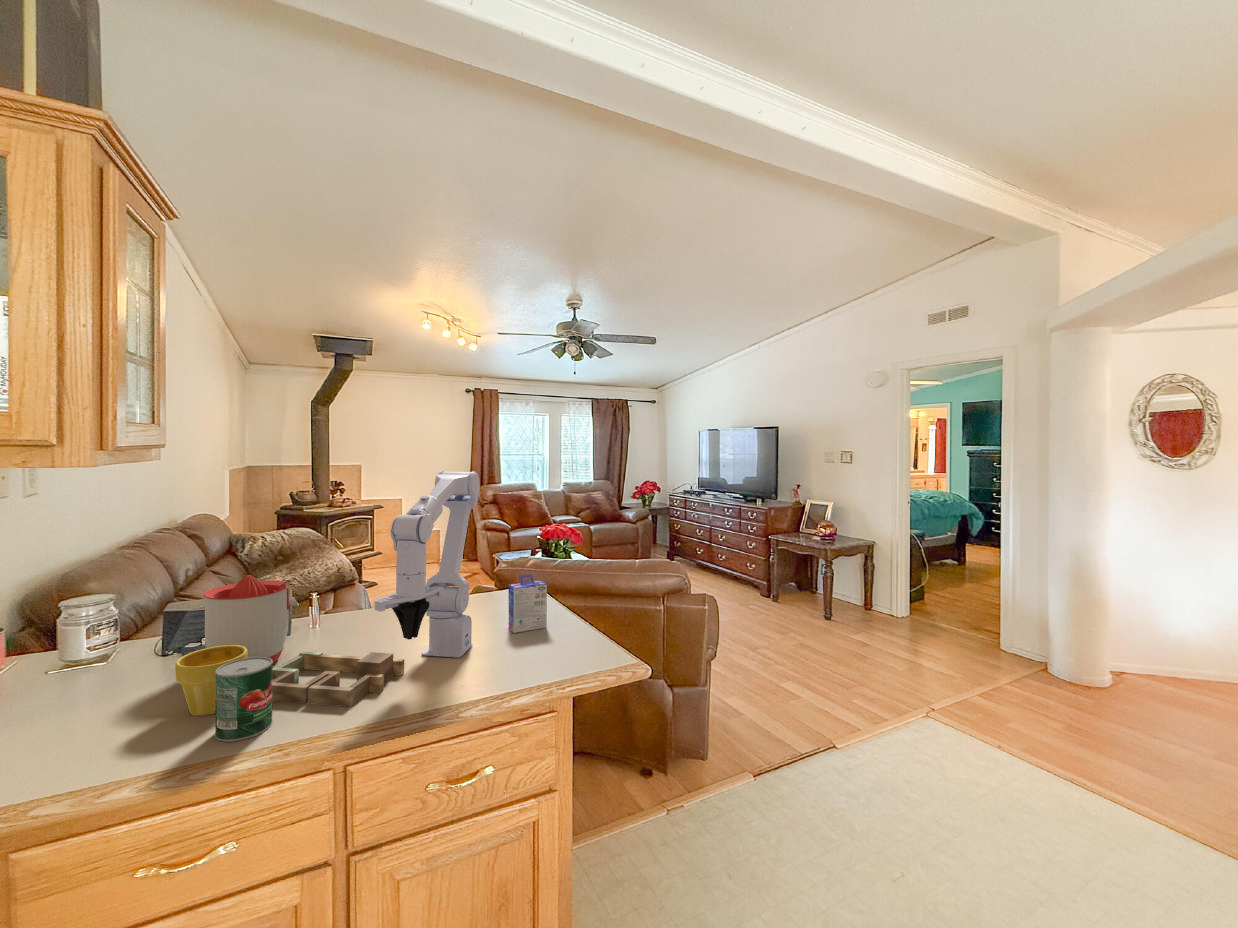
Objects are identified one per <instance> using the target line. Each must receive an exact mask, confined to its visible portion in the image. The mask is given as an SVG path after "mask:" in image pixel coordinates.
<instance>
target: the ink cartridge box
mask: <svg viewBox="0 0 1238 928" xmlns="http://www.w3.org/2000/svg"><path fill="white" fill-rule="evenodd" d="M519 578H520V580H519V581H520V582H519V583H511V584H508V590H507V591H508V629H509V630H510V631H511V632H512V633H513V634H515V633H522V632H526V631H527V632H528V631H532V630H539V629H545V628H547V627H548V626H547V625H548V621H547V620H548V618H547V616H548V615H547V614H548V613H547V611H548V609H547V608H548V605H547V604H548V602H547V601H548V584H547V583H546V582H544V581H542V580H534V577H533V573H528V574H520V575H519ZM525 578H530V579H525Z"/></svg>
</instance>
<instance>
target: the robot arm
mask: <svg viewBox="0 0 1238 928" xmlns="http://www.w3.org/2000/svg"><path fill="white" fill-rule="evenodd" d="M480 489H481V482H480V476H479V474H478V473H477V472H476V471H444V470H440V471H439V472H438V473H437V474H436V476H435V479H434V487H433V489H432V491H431V492H430V493H429V494H428V495H421V496H420V497H419V499H418V500H417V501H416V503H414V505H413V506H412V507H411V508H410V509H409V510H408V511H407V512H406V514H405V513H404V514H399V515H398V516H396V517H395V518H394V519H393V521H392V523H391V529H390V537H391V540H392V543H393V549H394V551H396V552H395V553H396V557H395V559H396V561H395V562H396V565H395V568H396V569H395V573H396V576H395V593H393V594H389V595H388V596H385V597H382V598H379V599H375V600H374V611H377V612H379V613H380V612H385V611H386V610H387V609H391V610H392V611H393V612H394V614H395V616H396V618H397V620H398V622H399V626H400V628H401V629H400V630H401V631H402V637H403V639H407V640H412V639H413V638H418V636H419V633H420V628H421V625H422V622H423V619H424V617H425V615H426V616H427V617H428V618H429V620H428V623H429V624H428V625H429V626H428V631H429V632H428V647H427V649H425V650H424V651H422V653H421V656H428V657H444V658H461V657H462V656H464V654H465V653H466V652H468V650H469V649H471V647H473V643H472V631H473V630H472V627H473V625H472V624H473V622H472V617H471V616H470V615H468V614H464V612H465V611H467V608H468V605H469V601H470V596H469V590H470V584H469V582H468V580H466V578H464V576H462V575H461V572H460V571H461V567H462V561H463V555H464V549H465V542H466V538H467V532H468V525H469V519H470V516H471V510H472V509H474V508H475V507H477V505H478V501H479V495H480ZM443 507H446V508H447V509H448V510H449V516H448V521H447V526H446V531H445V537H444V542H443V547H442V554H441V559H440V564H439V570H438V572H437V573H435V574H434V575H432V576H430V577H429V578H428V579H427V542H428V541H430V539H431V535H432V531H433V529H434V526H435V525H434V524H435V522H436V521H437V520H438V518H439V517H440V516H441V514H442V513H443V512H444V511H443V510H444V509H443ZM426 580H427V581H426Z"/></svg>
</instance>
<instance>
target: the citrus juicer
mask: <svg viewBox="0 0 1238 928" xmlns="http://www.w3.org/2000/svg"><path fill="white" fill-rule="evenodd" d="M286 583H287V582H286V581H283V580H275V579H274V580H273V579H272V580H271V579H269V580H268V579H267V580H266V579H265V580H259V579H258V578H256V577H254V576H253V575H251V574H247V575H246V576H244V577H243V578H242V579H241V580H240V581H238V582H236V583H229V584H226V585H225V584H224V585H220V586H216V587H214V588H211V589H208V590H206V591H205V592H204V593H203V597H204V641H205V645H206V647H205V648H210V647H215V646H223V645H240V646H244V647H246V648H247V651H248V658H250V657H268V658H271V659H272V661H273V663H272V664H274V663H275V662H277V661H278V660H279V658H280V657H281V654H282V652H283V650H284V647H285V646H284V645H285V642H286V640H287V635H288V631H289V609H290V607H299V603H298V601H297V600H296V598H295V597H293V596H291V595H289V593H290V592H289V586H287V584H286Z"/></svg>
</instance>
